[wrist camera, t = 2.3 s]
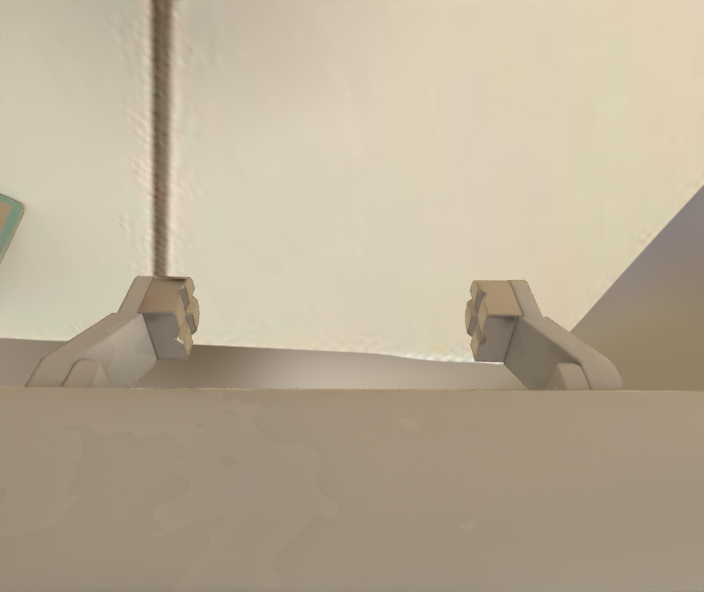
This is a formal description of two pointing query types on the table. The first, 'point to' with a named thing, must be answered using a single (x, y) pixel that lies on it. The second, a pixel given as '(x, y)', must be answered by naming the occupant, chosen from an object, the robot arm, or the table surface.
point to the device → (8, 222)
